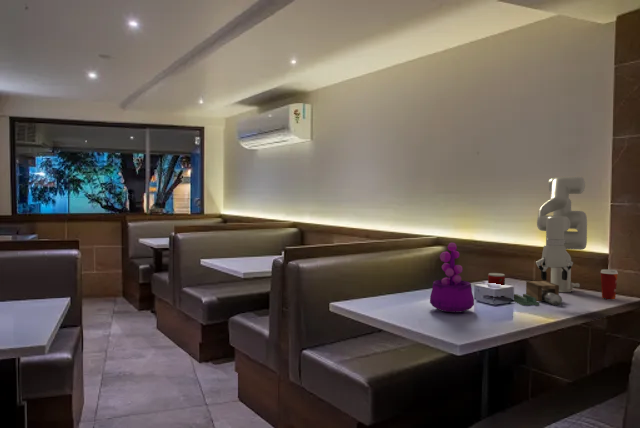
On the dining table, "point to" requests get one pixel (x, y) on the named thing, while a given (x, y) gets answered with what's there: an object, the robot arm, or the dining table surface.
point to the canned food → (496, 278)
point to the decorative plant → (451, 286)
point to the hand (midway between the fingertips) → (554, 279)
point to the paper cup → (608, 283)
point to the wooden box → (540, 288)
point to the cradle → (525, 299)
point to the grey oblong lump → (551, 298)
